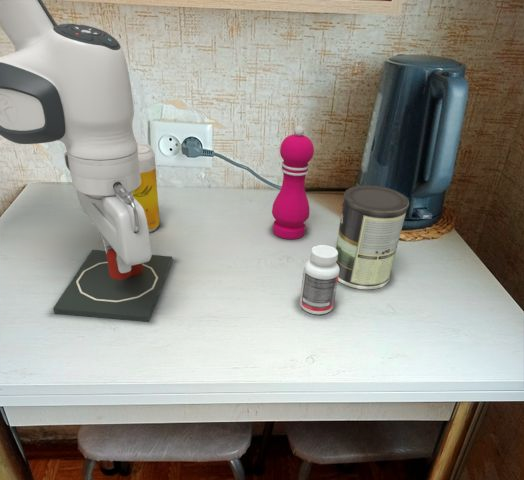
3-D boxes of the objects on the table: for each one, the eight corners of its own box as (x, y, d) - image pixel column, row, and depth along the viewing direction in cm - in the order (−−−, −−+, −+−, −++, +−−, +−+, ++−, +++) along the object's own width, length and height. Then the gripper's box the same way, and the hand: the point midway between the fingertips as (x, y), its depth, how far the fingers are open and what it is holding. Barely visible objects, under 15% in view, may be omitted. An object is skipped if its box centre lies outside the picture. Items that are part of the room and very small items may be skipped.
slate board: (54, 313, 75) (52, 307, 74) (93, 254, 89) (92, 249, 88) (148, 321, 75) (147, 315, 74) (172, 261, 89) (172, 255, 88)
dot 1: (106, 279, 76) (103, 257, 74) (112, 268, 78) (109, 247, 76) (128, 280, 76) (125, 259, 74) (133, 269, 78) (131, 248, 76)
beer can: (121, 229, 97) (111, 149, 88) (140, 217, 101) (132, 139, 92) (147, 237, 95) (140, 156, 86) (166, 224, 100) (160, 146, 90)
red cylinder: (120, 274, 83) (117, 255, 80) (126, 265, 85) (124, 245, 83) (139, 277, 82) (137, 257, 80) (145, 267, 85) (143, 248, 83)
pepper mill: (300, 244, 97) (313, 135, 84) (265, 235, 98) (272, 127, 86) (311, 228, 102) (325, 124, 89) (277, 221, 104) (286, 117, 91)
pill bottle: (338, 313, 80) (348, 258, 73) (305, 317, 78) (313, 261, 72) (325, 294, 84) (334, 241, 77) (294, 298, 82) (301, 243, 76)
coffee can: (321, 277, 88) (333, 199, 79) (344, 254, 95) (358, 179, 86) (377, 297, 84) (397, 217, 75) (397, 271, 91) (417, 195, 82)
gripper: (159, 196, 62) (166, 291, 71) (104, 145, 75) (115, 231, 84) (108, 205, 59) (122, 303, 68) (60, 150, 72) (77, 239, 81)
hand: (118, 263), depth 76 cm, fingers closed on dot 1, 3 cm apart
